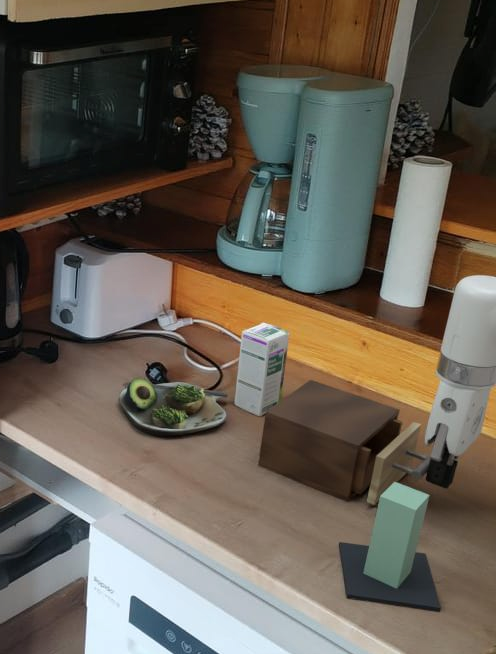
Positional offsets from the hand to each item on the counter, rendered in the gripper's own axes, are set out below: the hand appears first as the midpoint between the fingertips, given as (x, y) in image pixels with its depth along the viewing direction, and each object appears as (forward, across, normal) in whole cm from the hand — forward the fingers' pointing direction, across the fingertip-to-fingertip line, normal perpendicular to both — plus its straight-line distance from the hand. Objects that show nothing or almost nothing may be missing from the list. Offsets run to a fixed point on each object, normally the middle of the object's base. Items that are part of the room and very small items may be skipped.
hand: (438, 482), depth 129 cm
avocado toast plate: (+5, -3, +44) cm, 44 cm away
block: (+4, -20, -1) cm, 20 cm away
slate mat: (+4, -20, -2) cm, 20 cm away
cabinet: (+4, 0, +17) cm, 17 cm away
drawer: (+3, 0, +11) cm, 11 cm away
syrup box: (+4, +10, +34) cm, 36 cm away
